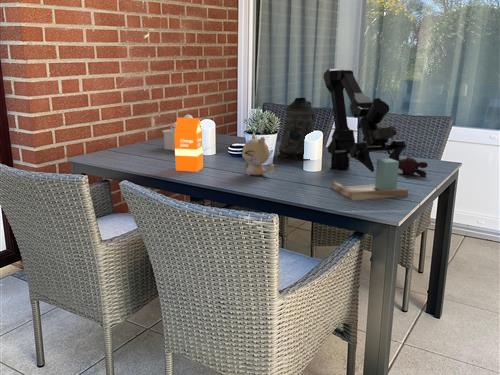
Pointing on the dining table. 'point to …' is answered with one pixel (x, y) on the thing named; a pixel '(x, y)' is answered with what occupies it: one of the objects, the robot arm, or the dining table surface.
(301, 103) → the dark translucent jar
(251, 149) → the kitten
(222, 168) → the dining table surface
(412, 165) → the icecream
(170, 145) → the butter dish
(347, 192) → the tan tray
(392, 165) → the block
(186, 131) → the orange juice
